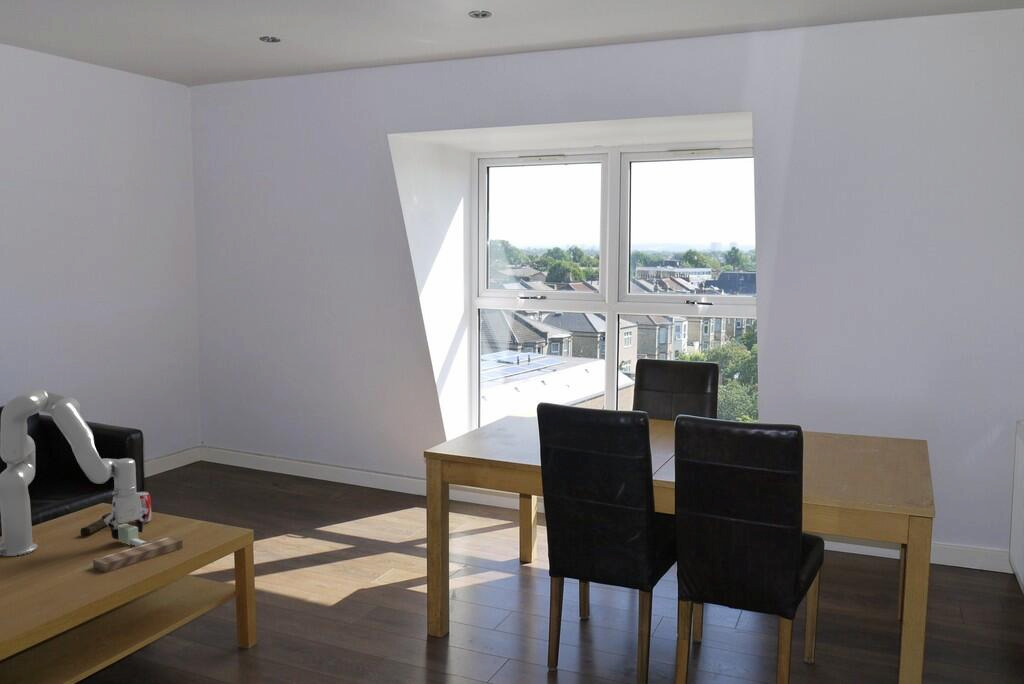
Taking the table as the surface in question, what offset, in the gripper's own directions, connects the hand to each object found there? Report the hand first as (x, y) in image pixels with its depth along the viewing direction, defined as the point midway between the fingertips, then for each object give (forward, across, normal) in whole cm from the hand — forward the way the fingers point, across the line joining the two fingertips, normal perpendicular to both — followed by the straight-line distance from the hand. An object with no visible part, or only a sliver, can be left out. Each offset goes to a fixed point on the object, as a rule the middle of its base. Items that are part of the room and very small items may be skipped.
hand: (127, 535), depth 327 cm
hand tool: (+3, +2, +24) cm, 24 cm away
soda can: (+3, +17, +18) cm, 25 cm away
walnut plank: (+3, -7, -19) cm, 20 cm away
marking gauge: (+3, 0, -5) cm, 5 cm away
